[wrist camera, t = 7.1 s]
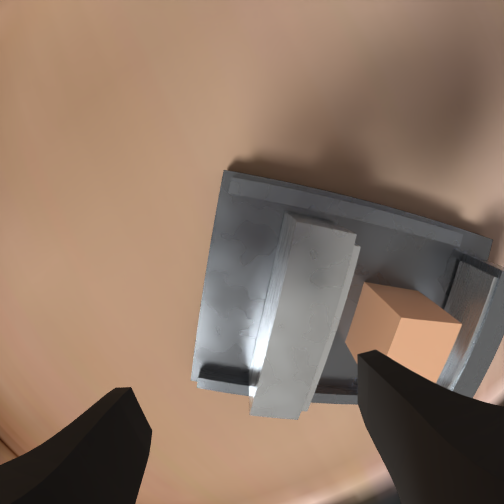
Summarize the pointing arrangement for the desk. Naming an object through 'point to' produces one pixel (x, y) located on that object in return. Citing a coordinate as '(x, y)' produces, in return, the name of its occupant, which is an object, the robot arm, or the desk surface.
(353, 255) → the moving jaw
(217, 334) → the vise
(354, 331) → the block
